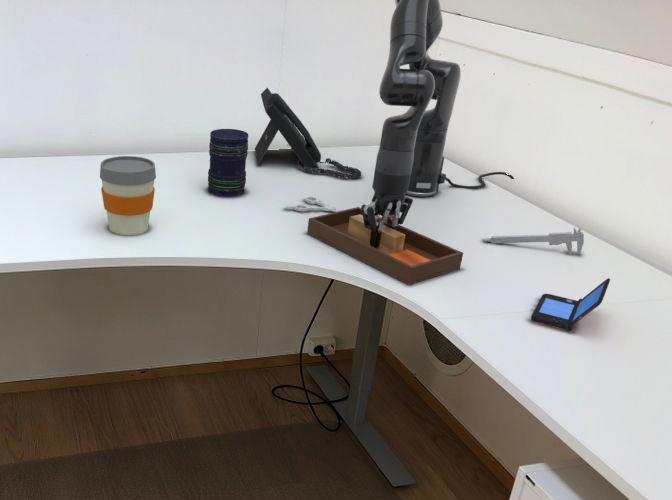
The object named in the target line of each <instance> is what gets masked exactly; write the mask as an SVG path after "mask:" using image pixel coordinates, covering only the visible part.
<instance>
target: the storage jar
mask: <svg viewBox="0 0 672 500" xmlns="http://www.w3.org/2000/svg"><path fill="white" fill-rule="evenodd" d="M209 137H210V138H209V142H208V143H209V145H208V147H209V150H208V156H209V169H208V171H207V185H208V187H207V193H209V194H210V195H212V196H215V197H219V198H238V197H241V196H243V195H244V194H245V193H246V192H245V187H246V184H247V183H246V182H247V171H246V166H247V165H246V163H247V157H248V154H249V153H248V150H249V133H248V132H247V131H244V130H241V129H235V128H218V129H214V130H212V131H210V133H209Z"/></svg>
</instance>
